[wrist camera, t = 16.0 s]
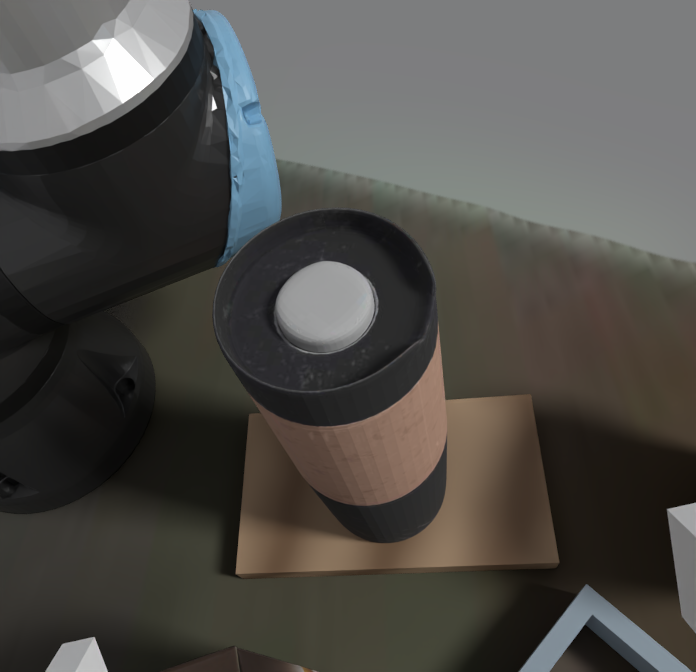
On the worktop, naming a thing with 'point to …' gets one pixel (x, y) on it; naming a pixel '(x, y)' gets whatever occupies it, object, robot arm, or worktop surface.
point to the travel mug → (344, 362)
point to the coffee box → (236, 663)
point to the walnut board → (439, 536)
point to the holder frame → (611, 626)
